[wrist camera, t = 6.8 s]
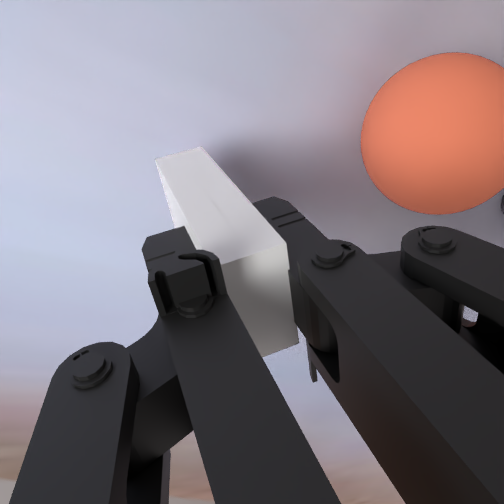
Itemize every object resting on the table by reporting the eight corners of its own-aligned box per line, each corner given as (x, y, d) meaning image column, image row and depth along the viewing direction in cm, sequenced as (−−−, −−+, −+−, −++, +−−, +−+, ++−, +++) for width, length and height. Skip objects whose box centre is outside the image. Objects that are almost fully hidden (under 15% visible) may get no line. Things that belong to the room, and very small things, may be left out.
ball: (497, 175, 19) (363, 181, 20) (519, 32, 16) (361, 51, 17) (537, 242, 14) (360, 243, 16) (577, 57, 11) (356, 80, 13)
